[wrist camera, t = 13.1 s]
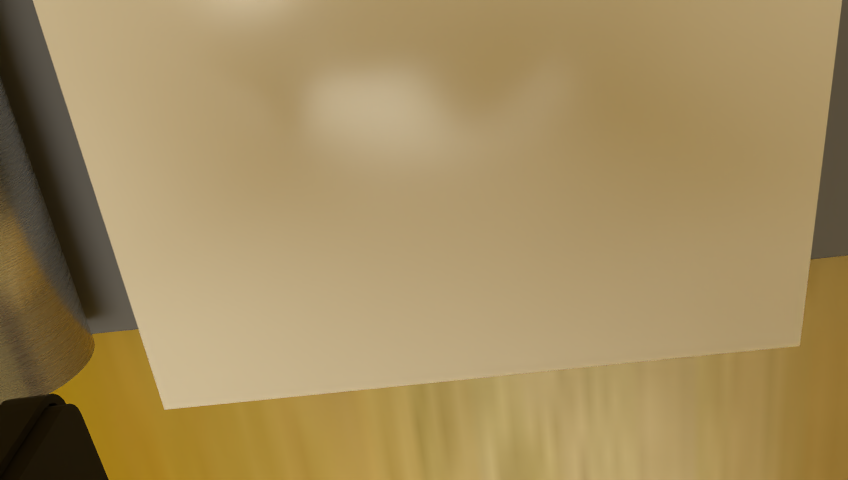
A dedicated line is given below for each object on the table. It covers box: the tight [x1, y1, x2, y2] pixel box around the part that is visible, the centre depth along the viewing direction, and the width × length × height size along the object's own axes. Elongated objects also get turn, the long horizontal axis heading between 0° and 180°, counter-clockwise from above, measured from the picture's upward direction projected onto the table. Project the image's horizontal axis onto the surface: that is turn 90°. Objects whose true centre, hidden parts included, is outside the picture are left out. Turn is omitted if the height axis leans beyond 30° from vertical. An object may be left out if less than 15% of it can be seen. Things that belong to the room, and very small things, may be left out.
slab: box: [33, 0, 842, 410], centre depth 19 cm, size 12×16×3 cm
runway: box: [0, 0, 848, 334], centre depth 22 cm, size 21×48×8 cm, turn 96°
